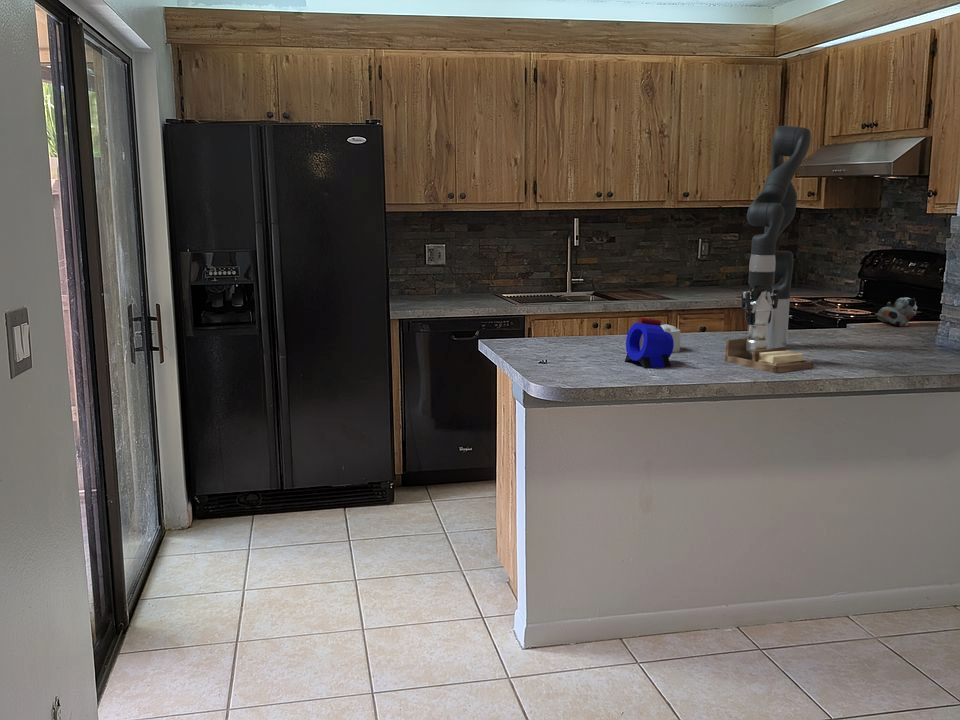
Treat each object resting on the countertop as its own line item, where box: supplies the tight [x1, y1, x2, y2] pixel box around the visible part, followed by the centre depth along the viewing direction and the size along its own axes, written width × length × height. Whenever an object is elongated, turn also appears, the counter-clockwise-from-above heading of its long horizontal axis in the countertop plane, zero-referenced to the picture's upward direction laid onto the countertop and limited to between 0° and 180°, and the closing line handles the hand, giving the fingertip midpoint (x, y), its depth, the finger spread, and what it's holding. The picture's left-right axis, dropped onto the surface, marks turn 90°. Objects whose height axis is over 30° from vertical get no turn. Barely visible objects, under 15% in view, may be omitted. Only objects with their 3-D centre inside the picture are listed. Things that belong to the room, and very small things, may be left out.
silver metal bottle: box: [746, 290, 771, 354], centre depth 270 cm, size 6×7×20 cm
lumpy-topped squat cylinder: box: [660, 323, 681, 353], centre depth 298 cm, size 10×13×9 cm
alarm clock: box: [624, 316, 674, 370], centre depth 274 cm, size 12×12×15 cm
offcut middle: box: [758, 360, 801, 366], centre depth 265 cm, size 6×11×2 cm, turn 121°
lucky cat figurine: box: [875, 296, 918, 328], centre depth 353 cm, size 15×12×14 cm
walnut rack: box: [724, 336, 814, 374], centre depth 268 cm, size 20×16×8 cm
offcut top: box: [759, 349, 804, 363], centre depth 264 cm, size 6×11×2 cm, turn 112°
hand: (758, 323), depth 271 cm, fingers closed on silver metal bottle, 6 cm apart
